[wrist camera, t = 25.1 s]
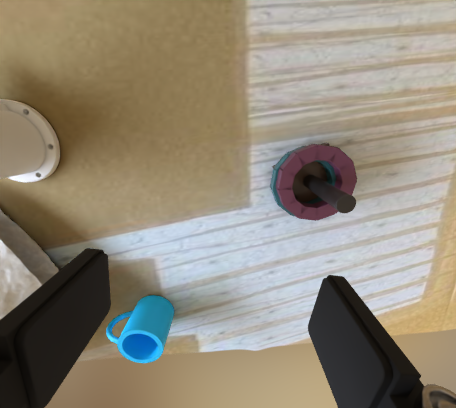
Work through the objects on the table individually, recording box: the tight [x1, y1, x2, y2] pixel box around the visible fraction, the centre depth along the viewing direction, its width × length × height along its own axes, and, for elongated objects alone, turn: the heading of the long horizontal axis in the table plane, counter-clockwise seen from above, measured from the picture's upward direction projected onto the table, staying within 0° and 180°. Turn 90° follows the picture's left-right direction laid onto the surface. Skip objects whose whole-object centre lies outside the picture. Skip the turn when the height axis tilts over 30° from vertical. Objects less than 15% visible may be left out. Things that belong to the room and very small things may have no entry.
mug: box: [106, 295, 174, 363], centre depth 42 cm, size 12×8×8 cm
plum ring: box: [276, 144, 357, 220], centre depth 32 cm, size 11×11×2 cm
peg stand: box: [273, 143, 356, 213], centre depth 30 cm, size 9×9×13 cm
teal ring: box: [270, 146, 336, 216], centre depth 34 cm, size 11×11×2 cm
